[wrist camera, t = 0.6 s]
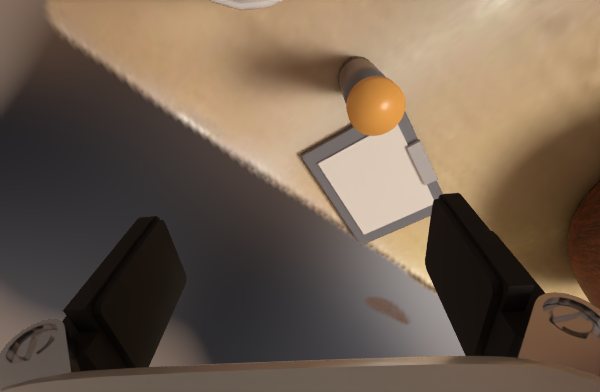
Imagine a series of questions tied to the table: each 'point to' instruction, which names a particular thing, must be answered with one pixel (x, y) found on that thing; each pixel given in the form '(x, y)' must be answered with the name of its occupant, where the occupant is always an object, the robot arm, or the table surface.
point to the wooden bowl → (587, 245)
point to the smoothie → (247, 3)
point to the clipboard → (376, 179)
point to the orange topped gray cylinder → (370, 97)
